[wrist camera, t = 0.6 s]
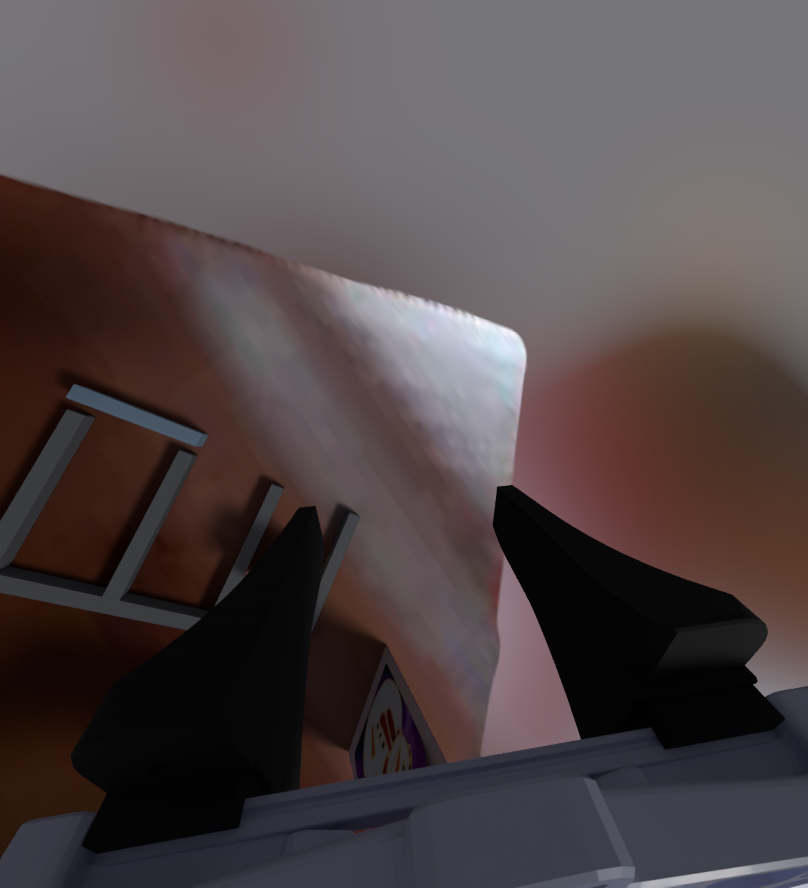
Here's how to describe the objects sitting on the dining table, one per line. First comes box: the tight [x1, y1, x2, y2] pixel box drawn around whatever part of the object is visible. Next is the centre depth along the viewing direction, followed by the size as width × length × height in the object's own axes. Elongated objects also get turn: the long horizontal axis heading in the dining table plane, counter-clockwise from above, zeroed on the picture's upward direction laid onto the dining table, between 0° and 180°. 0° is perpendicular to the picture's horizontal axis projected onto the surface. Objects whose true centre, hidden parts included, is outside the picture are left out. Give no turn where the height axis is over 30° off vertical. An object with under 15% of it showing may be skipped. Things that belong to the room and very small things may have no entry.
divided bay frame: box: [0, 384, 360, 634], centre depth 29 cm, size 16×26×2 cm, turn 66°
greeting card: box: [348, 644, 447, 831], centre depth 29 cm, size 11×7×15 cm, turn 158°
